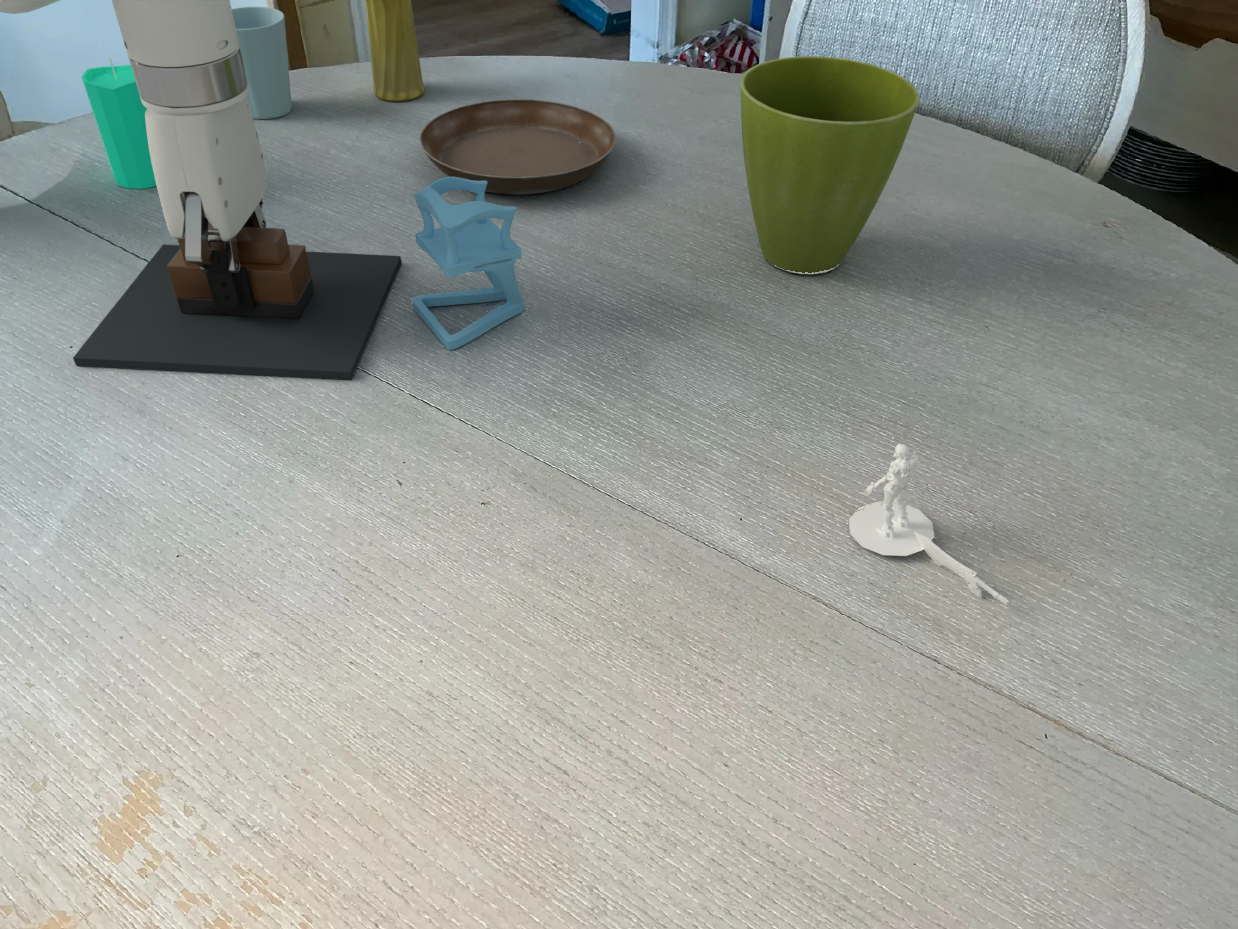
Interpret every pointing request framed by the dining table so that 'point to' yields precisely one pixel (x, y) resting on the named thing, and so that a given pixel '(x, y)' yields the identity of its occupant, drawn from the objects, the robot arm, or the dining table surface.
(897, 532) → the figurine
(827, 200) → the flower pot
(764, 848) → the dining table surface
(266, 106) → the cup
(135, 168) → the candle
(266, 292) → the brush
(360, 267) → the mat
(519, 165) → the plant saucer
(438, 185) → the chair
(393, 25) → the vase
